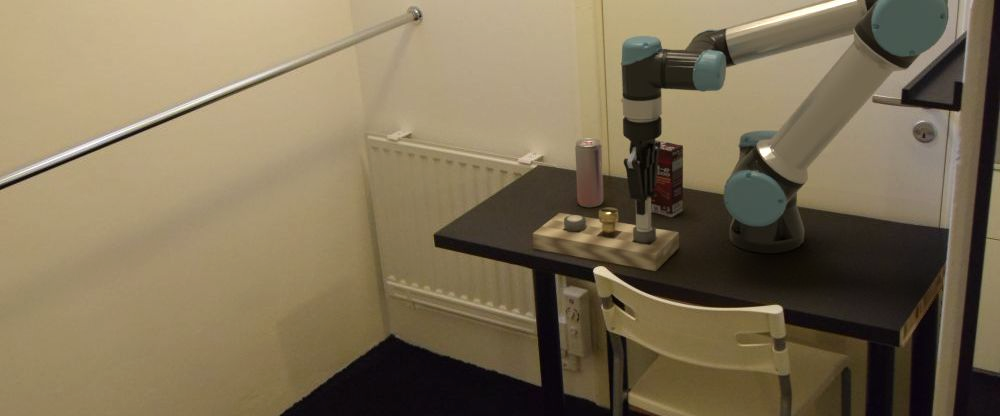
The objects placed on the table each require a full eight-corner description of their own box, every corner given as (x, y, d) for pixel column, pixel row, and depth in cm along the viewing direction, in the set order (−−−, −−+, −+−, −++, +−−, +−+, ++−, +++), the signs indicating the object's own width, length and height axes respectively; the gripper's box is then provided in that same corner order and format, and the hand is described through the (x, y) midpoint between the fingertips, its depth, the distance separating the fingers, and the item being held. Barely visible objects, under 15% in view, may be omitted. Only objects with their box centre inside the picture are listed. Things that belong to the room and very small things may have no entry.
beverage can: (578, 198, 249) (575, 138, 243) (604, 198, 248) (601, 137, 242) (577, 208, 244) (574, 146, 238) (602, 208, 243) (600, 146, 237)
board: (678, 247, 220) (678, 232, 219) (655, 271, 211) (655, 255, 210) (560, 227, 234) (559, 212, 233) (533, 248, 225) (532, 233, 224)
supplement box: (640, 210, 240) (638, 143, 234) (652, 203, 243) (651, 137, 237) (671, 218, 235) (671, 150, 228) (684, 211, 238) (684, 144, 232)
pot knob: (622, 232, 221) (621, 207, 219) (613, 239, 218) (613, 214, 216) (604, 229, 223) (604, 204, 221) (596, 236, 220) (595, 211, 218)
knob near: (659, 250, 218) (659, 225, 216) (650, 258, 215) (650, 234, 213) (639, 246, 221) (638, 222, 219) (630, 255, 217) (629, 230, 215)
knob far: (590, 239, 227) (589, 215, 224) (580, 247, 223) (579, 223, 221) (571, 236, 229) (570, 212, 227) (561, 244, 225) (560, 220, 223)
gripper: (638, 105, 214) (639, 212, 223) (610, 124, 203) (613, 236, 212) (673, 108, 210) (673, 218, 219) (646, 128, 200) (647, 242, 209)
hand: (643, 226), depth 216 cm, fingers closed
